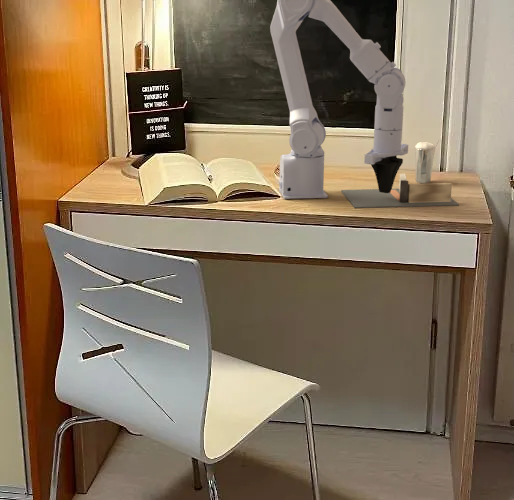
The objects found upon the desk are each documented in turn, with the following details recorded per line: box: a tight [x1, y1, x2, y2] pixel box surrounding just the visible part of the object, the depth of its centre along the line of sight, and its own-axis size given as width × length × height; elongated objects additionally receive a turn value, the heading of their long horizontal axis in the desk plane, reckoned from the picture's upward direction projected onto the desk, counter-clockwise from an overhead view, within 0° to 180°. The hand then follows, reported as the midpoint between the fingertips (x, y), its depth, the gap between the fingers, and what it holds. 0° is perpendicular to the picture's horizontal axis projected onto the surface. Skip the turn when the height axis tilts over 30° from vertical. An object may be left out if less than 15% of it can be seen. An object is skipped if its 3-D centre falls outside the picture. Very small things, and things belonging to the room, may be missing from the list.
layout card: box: [340, 188, 460, 209], centre depth 192 cm, size 22×14×1 cm, turn 97°
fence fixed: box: [400, 179, 453, 203], centre depth 188 cm, size 11×2×4 cm, turn 97°
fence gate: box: [398, 173, 408, 190], centre depth 193 cm, size 9×1×3 cm, turn 173°
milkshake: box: [414, 139, 441, 183], centre depth 205 cm, size 4×5×10 cm
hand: (384, 192), depth 191 cm, fingers closed
